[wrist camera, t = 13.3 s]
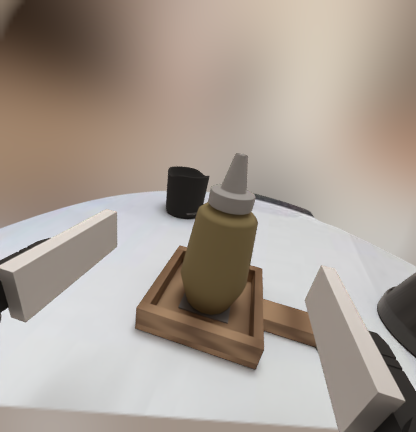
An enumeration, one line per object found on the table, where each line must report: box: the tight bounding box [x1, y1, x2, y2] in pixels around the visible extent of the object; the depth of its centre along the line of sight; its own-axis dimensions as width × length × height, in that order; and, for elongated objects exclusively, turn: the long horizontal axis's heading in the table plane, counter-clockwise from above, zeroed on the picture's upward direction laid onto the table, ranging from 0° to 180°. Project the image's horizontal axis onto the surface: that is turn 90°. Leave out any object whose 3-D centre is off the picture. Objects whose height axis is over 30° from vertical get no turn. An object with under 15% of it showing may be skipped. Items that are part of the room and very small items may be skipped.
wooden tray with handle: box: [135, 246, 318, 369], centre depth 27 cm, size 23×13×3 cm, turn 77°
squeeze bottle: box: [180, 153, 258, 315], centre depth 24 cm, size 8×8×18 cm
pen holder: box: [166, 167, 209, 219], centre depth 51 cm, size 9×9×10 cm
